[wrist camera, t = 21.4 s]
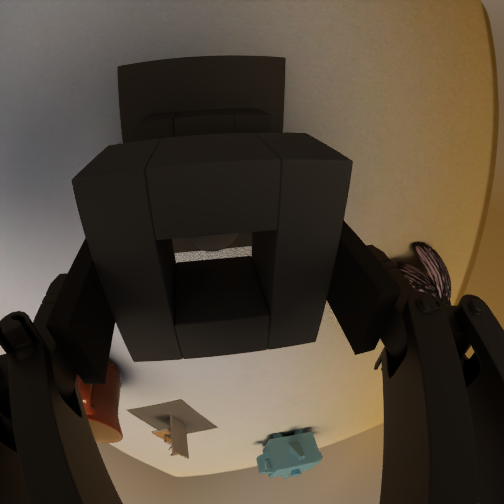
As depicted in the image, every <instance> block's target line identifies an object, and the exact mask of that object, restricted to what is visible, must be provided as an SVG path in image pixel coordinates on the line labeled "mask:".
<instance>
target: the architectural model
mask: <svg viewBox="0 0 504 504" xmlns="http://www.w3.org/2000/svg"><path fill="white" fill-rule="evenodd" d="M127 411H129V412H130V413H132V414H133V415H135V416H136V417H138V418H139V419H141V420H142V421H144V422H146V423H147V424H149V425H151V426H152V427H154V428H156V429H157V431H152V433H153V434H155V435H156V436H158V437H160V438H162V439H164V440H165V441H164V442H166V443H168V444H170V443H171V444H170V445H172V446H171V447H172V454H171V456H173V455H181V456H183V457H185V458H189V455H188V446H187V435H186V434H188V433H193V432H198V431H203V430H208V429H213V428H217V427H216V426H215V425H213V424H212V423H211V422H209V421H208V420H206V419H205V418H204V417H203V416H201V415H200V414H199V413H197V412H196V411H195V410H193V409H192V408H191V407H190V406H188V405H187V404H186V403H185V402H183V401H182V400H177V401H173V402H168V403H163V404H158V405H153V406H148V407H142V408H137V409H131V410H127ZM170 436H171V437H170ZM171 447H170V448H171Z"/></svg>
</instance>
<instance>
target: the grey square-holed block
mask: <svg viewBox="0 0 504 504" xmlns="http://www.w3.org/2000/svg"><path fill="white" fill-rule="evenodd" d="M352 164H353V161H352V160H350V159H349V158H347V157H346V156H344V155H342V154H341V153H339V152H337V151H336V150H334V149H332V148H331V147H329V146H327V145H326V144H324V143H322V142H321V141H319V140H317V139H315V138H314V137H312V136H310V135H308V134H306V133H255V134H254V133H223V134H205V135H191V136H179V137H169V138H162V139H151V140H143V141H136V142H129V143H122V144H116V145H110V146H108V147H106V148H105V149H104V150H103V151H102V152H101V153H100V154H98V155H97V156H96V157H95V158H94V159H93V160H92V161H91V162H90V163H89V164H88V165H86V166H85V167H84V168H83V169H82V170H81V171H80V172H79V173H78V174H77V175H76V176H75V177H74V178H73V179H72V185H73V190H74V194H75V199H76V203H77V207H78V211H79V215H80V219H81V222H82V226H83V230H84V233H85V237H86V240H87V244H88V247H89V250H90V253H91V256H92V260H93V262H94V265H95V268H96V271H97V274H98V277H99V280H100V282H101V285H102V288H103V291H104V293H105V296H106V299H107V301H108V304H109V306H110V309H111V311H112V314H113V316H114V319H115V322H116V324H117V326H118V329H119V331H120V333H121V335H122V338H123V340H124V342H125V344H126V347H127V349H128V351H129V353H130V355H131V357H132V359H133V361H134V362H141V361H163V360H179V359H182V358H184V359H190V358H202V357H212V356H222V355H231V354H239V353H247V352H254V351H262V350H267V348H268V349H276V348H282V347H288V346H294V345H300V344H306V343H311V342H315V341H316V338H317V335H318V331H319V327H320V323H321V320H322V316H323V312H324V308H325V304H326V300H327V295H328V291H329V287H330V282H331V278H332V274H333V269H334V265H335V260H336V255H337V250H338V245H339V240H340V236H341V231H342V225H343V220H344V214H345V209H346V203H347V197H348V191H349V185H350V178H351V171H352ZM245 232H252V257H251V256H244V257H233V258H222V259H211V260H200V261H189V262H178V263H176V261H175V255H174V248H173V241H172V239H174V238H185V237H197V236H208V235H220V234H232V233H245Z"/></svg>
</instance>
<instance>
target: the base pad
mask: <svg viewBox="0 0 504 504" xmlns="http://www.w3.org/2000/svg"><path fill="white" fill-rule="evenodd" d="M284 88H285V58H283V57H267V56H200V57H185V58H173V59H164V60H155V61H148V62H141V63H135V64H129V65H123V66H118V89H119V105H120V118H121V128H122V138H123V143H129V142H136V141H139V137H138V126H137V124H138V122H140V121H141V120H142V119H144V118H145V117H146V116H147V115H152V114H160V113H169V112H179V111H191V110H206V109H229V108H258V109H260V110H262V111H265V112H267V113H269V114H271V133H283V112H284ZM172 241H173V248H174V253H179V252H190V251H201V250H204V251H219V250H222V249H225V248H234V247H246V246H252V232H245V233H232V234H220V235H208V236H197V237H185V238H174V239H172Z"/></svg>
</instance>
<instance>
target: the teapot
mask: <svg viewBox="0 0 504 504" xmlns="http://www.w3.org/2000/svg"><path fill="white" fill-rule="evenodd" d="M302 432H303V429H300V430H297V431H295V432H294V435H291V436H286V437H283V436H282V434H281V433H277V434H274V435H272V436H273V439H269V440H268V442H267V444H266V445H265V447H264V449H263V454H262V455H260V456H258V457H257V464H258V469H259V473H260V474H268V475H269V478H271V477H277V476H282V475H284V478H285V479H286V478H288V477H289V475H290V474H291V477H294V476H298V475H301V472H302V471H306V470H310V469H311V468H312V467H314V466H315V465H316V464H317V463H319V462H320V461H321V460H322V454H321V453H320V452H319V450H318V447H317V444H316V441H315V438H314V435H313V432H307V433H302ZM265 463H266V467H267V469H265Z"/></svg>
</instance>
